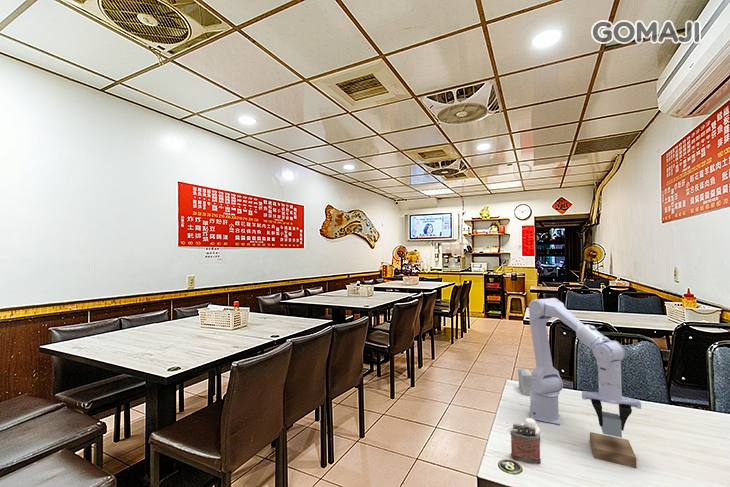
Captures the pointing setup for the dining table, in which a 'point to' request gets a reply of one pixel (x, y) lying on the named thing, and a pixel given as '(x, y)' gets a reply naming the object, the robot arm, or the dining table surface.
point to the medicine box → (525, 381)
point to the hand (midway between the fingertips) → (610, 426)
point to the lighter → (525, 444)
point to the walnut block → (612, 449)
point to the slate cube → (611, 424)
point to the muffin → (532, 425)
